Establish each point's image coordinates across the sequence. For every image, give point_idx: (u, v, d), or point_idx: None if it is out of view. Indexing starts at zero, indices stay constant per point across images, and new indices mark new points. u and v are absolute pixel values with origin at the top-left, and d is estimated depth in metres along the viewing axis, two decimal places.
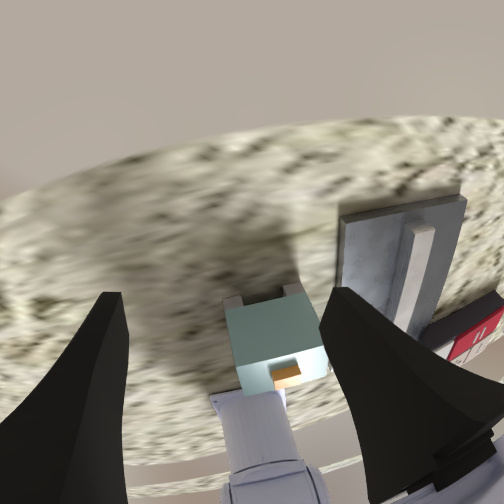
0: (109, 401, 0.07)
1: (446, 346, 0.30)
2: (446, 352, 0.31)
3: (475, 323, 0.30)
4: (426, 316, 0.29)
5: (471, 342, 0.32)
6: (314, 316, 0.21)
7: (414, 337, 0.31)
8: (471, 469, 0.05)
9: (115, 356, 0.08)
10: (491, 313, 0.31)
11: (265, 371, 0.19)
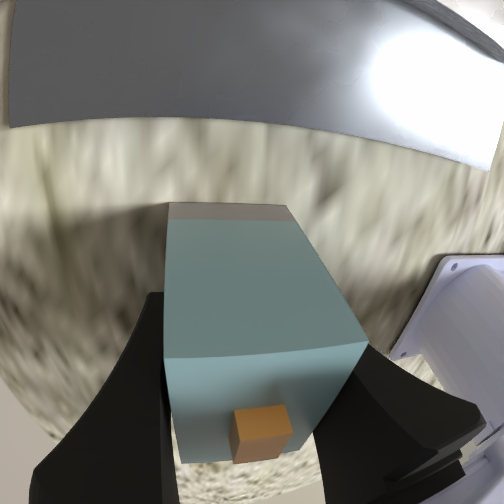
0: (166, 402, 0.07)
1: None
2: None
3: None
4: None
5: None
6: (165, 277, 0.07)
7: None
8: (431, 494, 0.05)
9: None
10: None
11: (220, 443, 0.08)
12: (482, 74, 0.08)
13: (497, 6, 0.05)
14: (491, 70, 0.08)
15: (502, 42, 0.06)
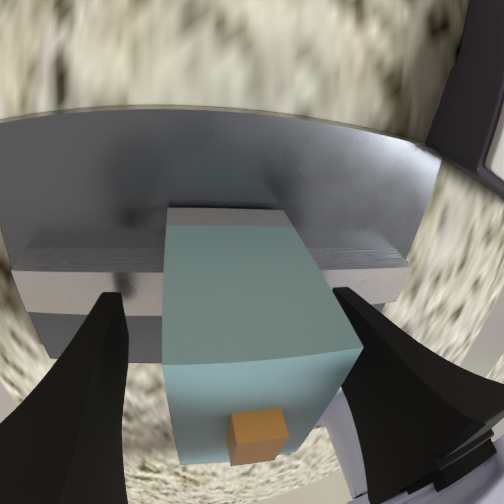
0: (109, 401, 0.07)
1: None
2: None
3: None
4: (358, 156, 0.11)
5: None
6: None
7: (416, 183, 0.12)
8: (471, 470, 0.05)
9: (115, 356, 0.08)
10: None
11: (218, 445, 0.08)
12: None
13: (361, 278, 0.12)
14: None
15: None
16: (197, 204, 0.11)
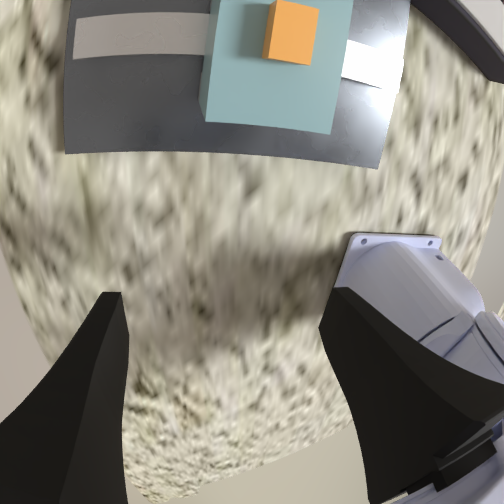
0: (109, 401, 0.07)
1: None
2: None
3: None
4: None
5: None
6: None
7: (394, 8, 0.12)
8: (471, 469, 0.05)
9: (115, 356, 0.08)
10: None
11: (253, 68, 0.08)
12: (361, 101, 0.15)
13: (362, 53, 0.12)
14: (371, 96, 0.15)
15: (365, 79, 0.13)
16: None
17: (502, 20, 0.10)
